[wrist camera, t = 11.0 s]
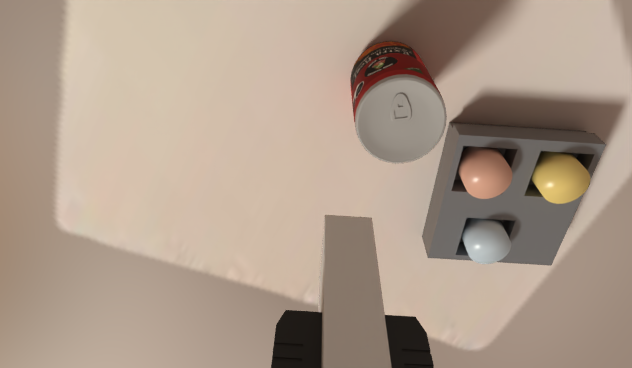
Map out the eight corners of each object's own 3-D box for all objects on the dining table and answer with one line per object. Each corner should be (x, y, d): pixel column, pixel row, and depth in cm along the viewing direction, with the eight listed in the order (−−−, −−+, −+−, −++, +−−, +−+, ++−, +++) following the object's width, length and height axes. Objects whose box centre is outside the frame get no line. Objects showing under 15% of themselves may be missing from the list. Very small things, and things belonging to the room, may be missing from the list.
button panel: (450, 118, 50) (459, 134, 46) (587, 127, 50) (606, 144, 47) (422, 236, 59) (427, 257, 55) (538, 243, 59) (551, 265, 56)
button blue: (465, 211, 54) (473, 230, 51) (506, 214, 54) (516, 232, 51) (456, 243, 56) (463, 262, 53) (495, 245, 56) (504, 265, 53)
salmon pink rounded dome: (462, 141, 49) (470, 157, 46) (507, 144, 49) (518, 160, 46) (452, 179, 51) (459, 197, 48) (494, 182, 51) (504, 200, 48)
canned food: (410, 25, 45) (431, 61, 35) (434, 96, 49) (459, 145, 39) (337, 58, 47) (339, 99, 37) (366, 123, 50) (375, 176, 41)
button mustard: (536, 146, 49) (550, 162, 46) (581, 149, 49) (597, 166, 46) (523, 184, 51) (534, 202, 48) (565, 187, 52) (579, 205, 49)
